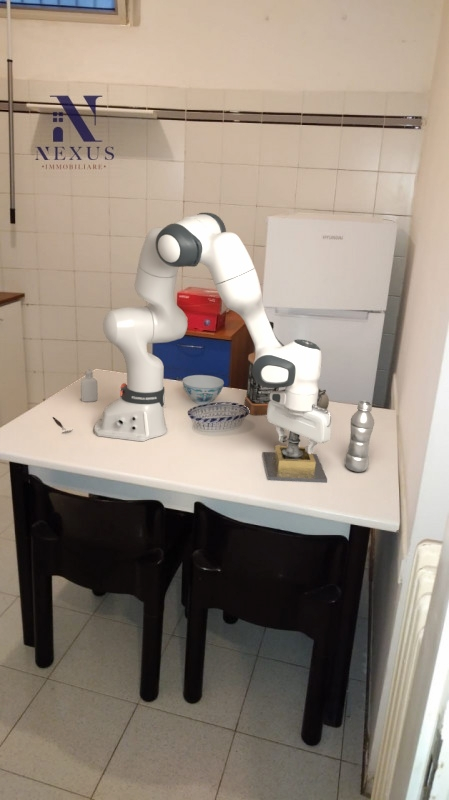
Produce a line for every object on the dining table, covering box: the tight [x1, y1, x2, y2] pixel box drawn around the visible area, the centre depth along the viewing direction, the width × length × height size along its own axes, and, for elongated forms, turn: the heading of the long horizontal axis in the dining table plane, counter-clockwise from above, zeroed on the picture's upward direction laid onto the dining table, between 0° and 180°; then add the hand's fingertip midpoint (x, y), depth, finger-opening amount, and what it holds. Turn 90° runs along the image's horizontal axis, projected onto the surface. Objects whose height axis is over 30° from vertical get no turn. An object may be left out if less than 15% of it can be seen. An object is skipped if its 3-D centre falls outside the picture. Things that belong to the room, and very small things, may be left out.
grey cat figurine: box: [317, 387, 330, 410], centre depth 197 cm, size 10×12×10 cm
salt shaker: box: [282, 431, 303, 460], centre depth 159 cm, size 6×6×12 cm
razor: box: [52, 417, 73, 434], centre depth 179 cm, size 3×16×2 cm, turn 33°
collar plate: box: [262, 445, 328, 484], centre depth 161 cm, size 16×16×4 cm
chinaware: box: [182, 374, 225, 405], centre depth 209 cm, size 15×15×8 cm
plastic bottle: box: [344, 400, 375, 473], centre depth 160 cm, size 6×7×20 cm
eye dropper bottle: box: [80, 367, 99, 403], centre depth 201 cm, size 4×6×12 cm
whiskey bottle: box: [243, 320, 280, 416], centre depth 199 cm, size 10×10×32 cm
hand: (295, 447), depth 159 cm, fingers open, 8 cm apart
